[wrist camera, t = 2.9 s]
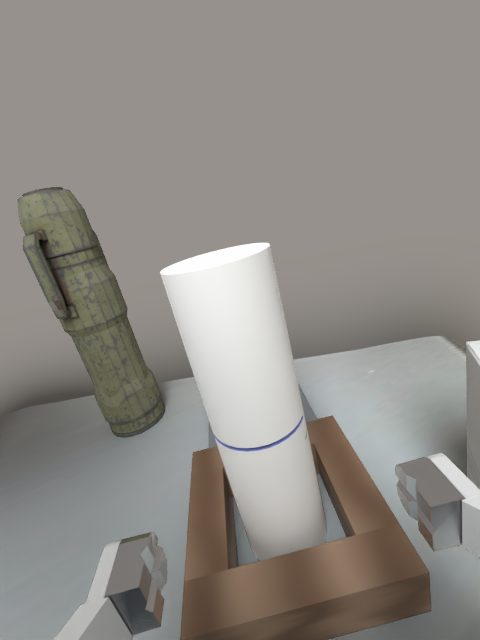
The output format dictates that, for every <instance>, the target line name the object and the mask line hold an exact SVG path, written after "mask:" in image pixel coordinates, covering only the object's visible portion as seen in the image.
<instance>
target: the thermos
mask: <svg viewBox="0 0 480 640" xmlns="http://www.w3.org/2000/svg"><path fill="white" fill-rule="evenodd" d="M22 196H23V197H21V198H19V199H18V210H19V218H20V224H21V226H22V228H23V230H24V232H25V235H26V236H24V238H23V250H24V252H25V254H26V256H27V259H28V261H29V263H30V265H31V267H32V269H33V271H34V273H35V276H36V278H37V280H38V282H39V284H40V286H41V288H42V290H43V293H44V295H45V297H46V299H47V301H48V303H49V305H50V306H51V308H52V310H53V312H54V314H55V315H56V317H57V319H59V320H60V322H61V324H62V327H63V329H64V331H65V332H67V333H68V334H69V335H70V336H71V337H72V339H73V341H74V343H75V345H76V347H77V350H78V352H79V354H80V356H81V358H82V360H83V363H84V365H85V367H86V369H87V371H88V373H89V375H90V377H91V380H92V382H93V384H94V386H95V398H96V400H97V403H98V405H99V407H100V409H101V411H102V413H103V415H104V417H105V420H106V421H107V422H108V423H109V424H110V426H111V429H112V432H113V434H114V435H116V436H118V437H130V436H134V435H137V434H140V433H142V432H144V431H146V430H148V429H150V428H151V427H152V426H154V425H155V424H156V423H157V422H158V421H159V420H160V419H161V418H162V416H163V414H164V412H165V407H164V404H163V403H162V400H161V393H160V391H159V388H158V385H157V383H156V380H155V378H154V375H153V373H152V372H151V371H150V369H148V367H147V366H146V364H145V362H144V360H143V357H142V354H141V352H140V349H139V346H138V344H137V341H136V339H135V336H134V333H133V331H132V328H131V326H130V323H129V321H128V318H127V306H126V303H125V301H124V298H123V296H122V293H121V290H120V288H119V285H118V282H117V280H116V277H115V275H114V274H113V273H112V271H111V270H110V269H109V267H108V264H107V261H106V259H105V256H104V254H103V251H102V248H101V246H100V243H99V241H98V238H97V235H96V234H95V232H94V231H93V230H92V228H91V225H90V223H89V220H88V218H87V215H86V213H85V210H84V209H83V207H82V206H81V204H80V203H79V202H78V201H77V199H76V198H75V197H74V195H73V194H72V193H71V191H70V190H65V189H63V188H61V187H52V188H44V189H39V190H35V191H31V192H27V193H25V194H23V195H22Z"/></svg>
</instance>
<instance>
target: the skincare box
mask: <svg viewBox="0 0 480 640" xmlns="http://www.w3.org/2000/svg"><path fill="white" fill-rule="evenodd" d="M466 369H467V477H468V478H469V479H470V480H471V481H472V482H473V483H474V484H475V485H476V486H477V487H478V488H479V489H480V341H471V342H466Z"/></svg>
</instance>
